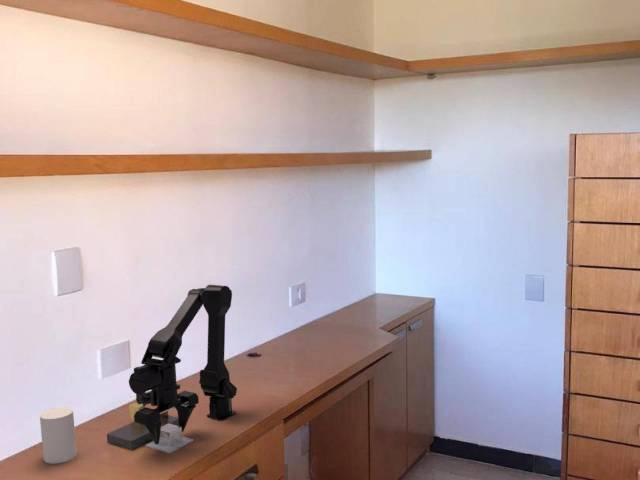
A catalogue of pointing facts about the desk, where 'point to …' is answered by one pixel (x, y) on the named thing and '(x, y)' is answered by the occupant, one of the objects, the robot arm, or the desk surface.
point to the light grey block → (170, 435)
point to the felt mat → (169, 449)
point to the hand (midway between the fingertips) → (169, 437)
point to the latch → (135, 409)
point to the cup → (58, 435)
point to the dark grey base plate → (137, 433)
